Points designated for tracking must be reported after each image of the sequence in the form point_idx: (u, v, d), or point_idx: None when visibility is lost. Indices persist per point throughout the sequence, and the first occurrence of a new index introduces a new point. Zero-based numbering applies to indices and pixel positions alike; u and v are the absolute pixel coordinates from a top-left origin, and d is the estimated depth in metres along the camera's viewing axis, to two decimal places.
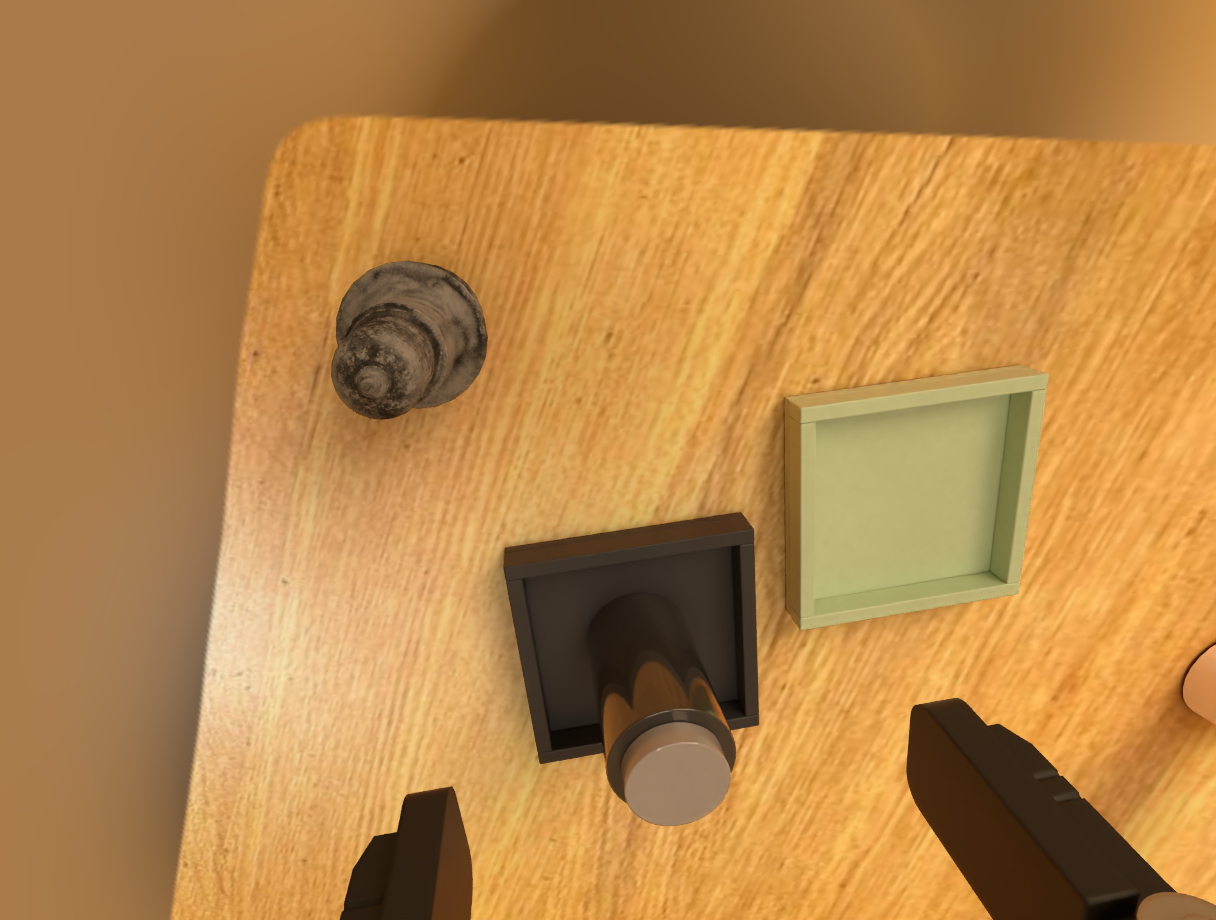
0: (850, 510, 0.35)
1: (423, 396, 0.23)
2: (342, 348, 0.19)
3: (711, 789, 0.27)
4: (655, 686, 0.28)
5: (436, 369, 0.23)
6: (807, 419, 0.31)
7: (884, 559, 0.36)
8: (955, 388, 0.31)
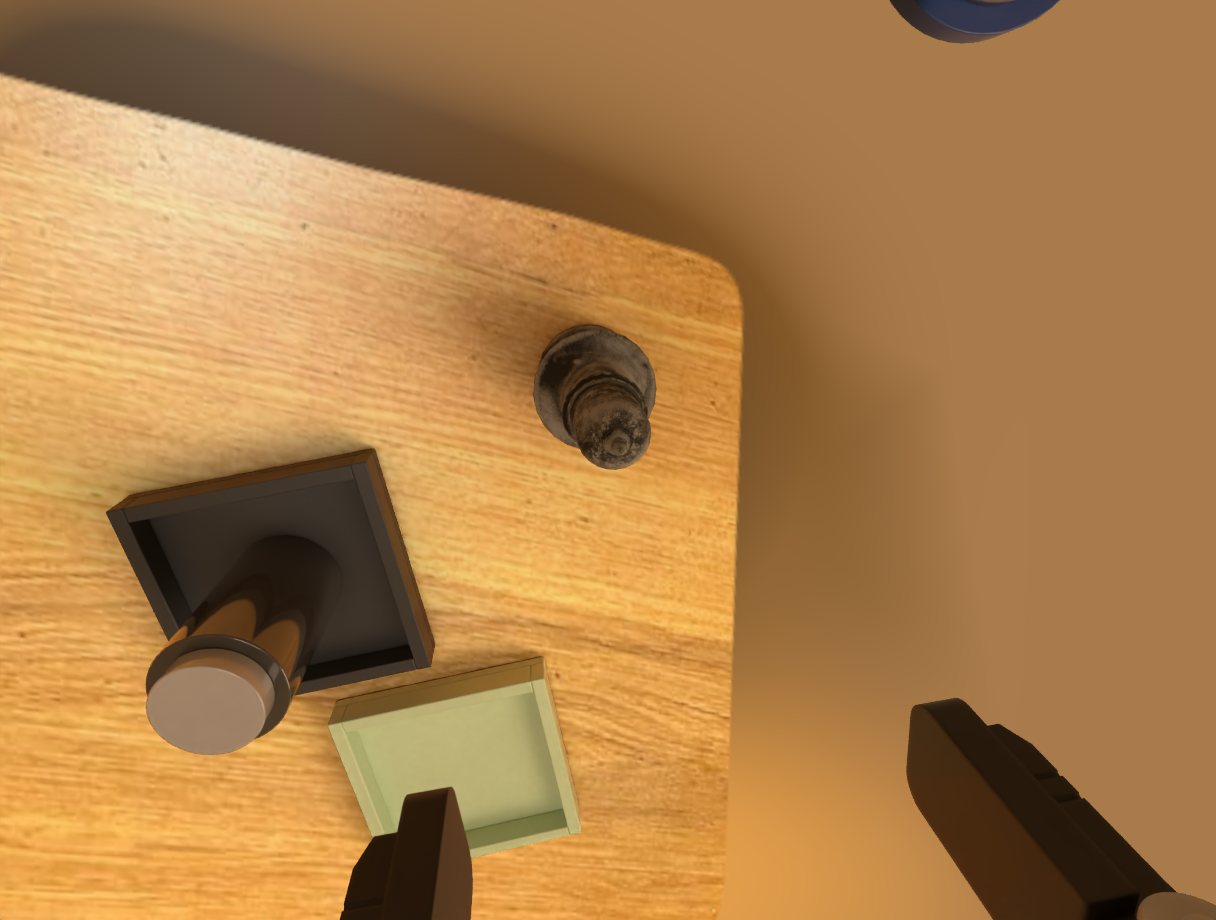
0: (448, 729, 0.40)
1: (573, 436, 0.28)
2: (637, 414, 0.24)
3: (205, 740, 0.27)
4: (296, 652, 0.29)
5: None
6: (534, 685, 0.38)
7: (403, 766, 0.41)
8: (566, 777, 0.41)
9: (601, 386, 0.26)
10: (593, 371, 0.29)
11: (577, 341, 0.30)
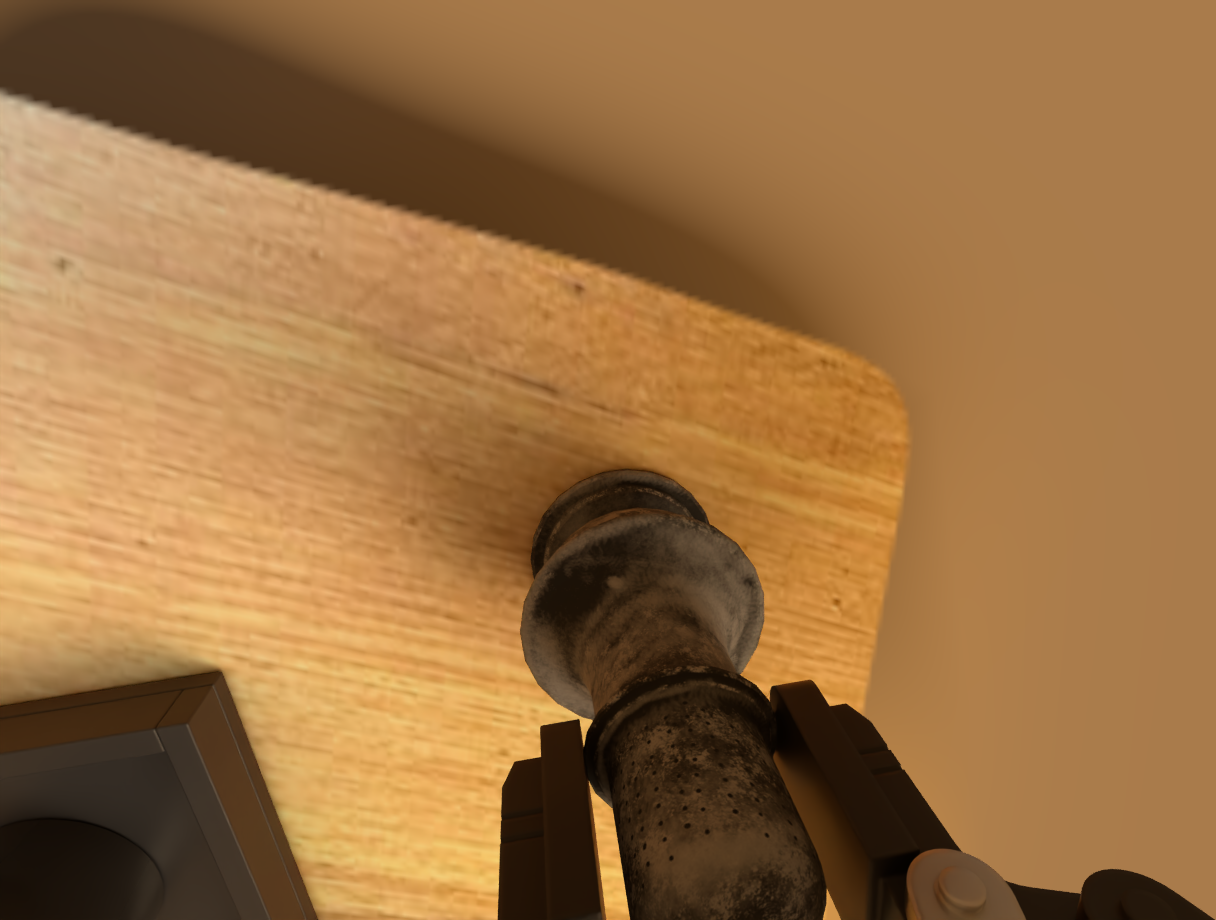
0: None
1: (605, 795, 0.12)
2: (805, 873, 0.09)
3: None
4: None
5: None
6: None
7: None
8: None
9: (684, 714, 0.11)
10: (653, 623, 0.13)
11: (616, 537, 0.14)
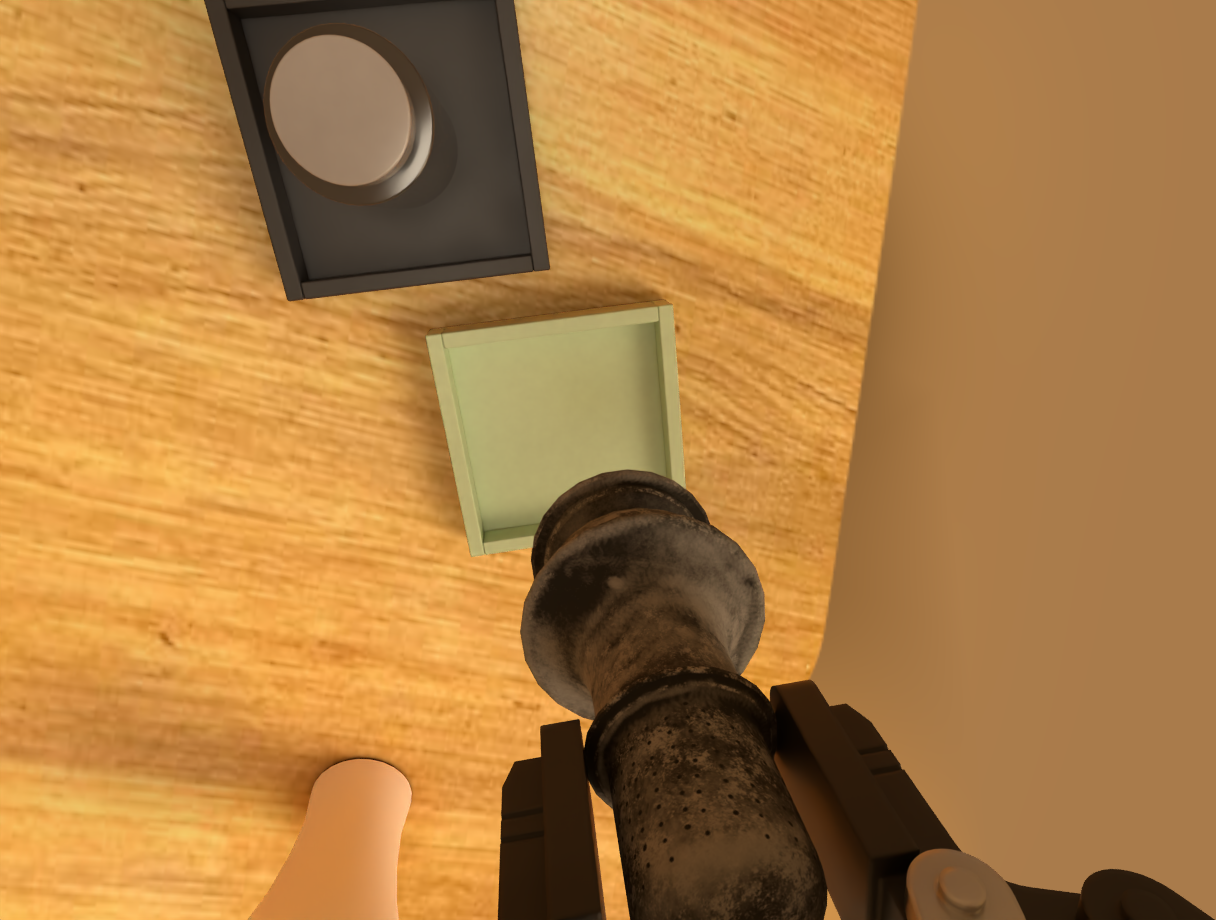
0: (552, 378, 0.35)
1: (606, 795, 0.12)
2: (805, 874, 0.09)
3: (335, 158, 0.22)
4: (436, 109, 0.24)
5: None
6: (661, 311, 0.33)
7: (497, 423, 0.36)
8: (681, 446, 0.36)
9: (684, 714, 0.11)
10: (653, 623, 0.13)
11: (616, 537, 0.14)
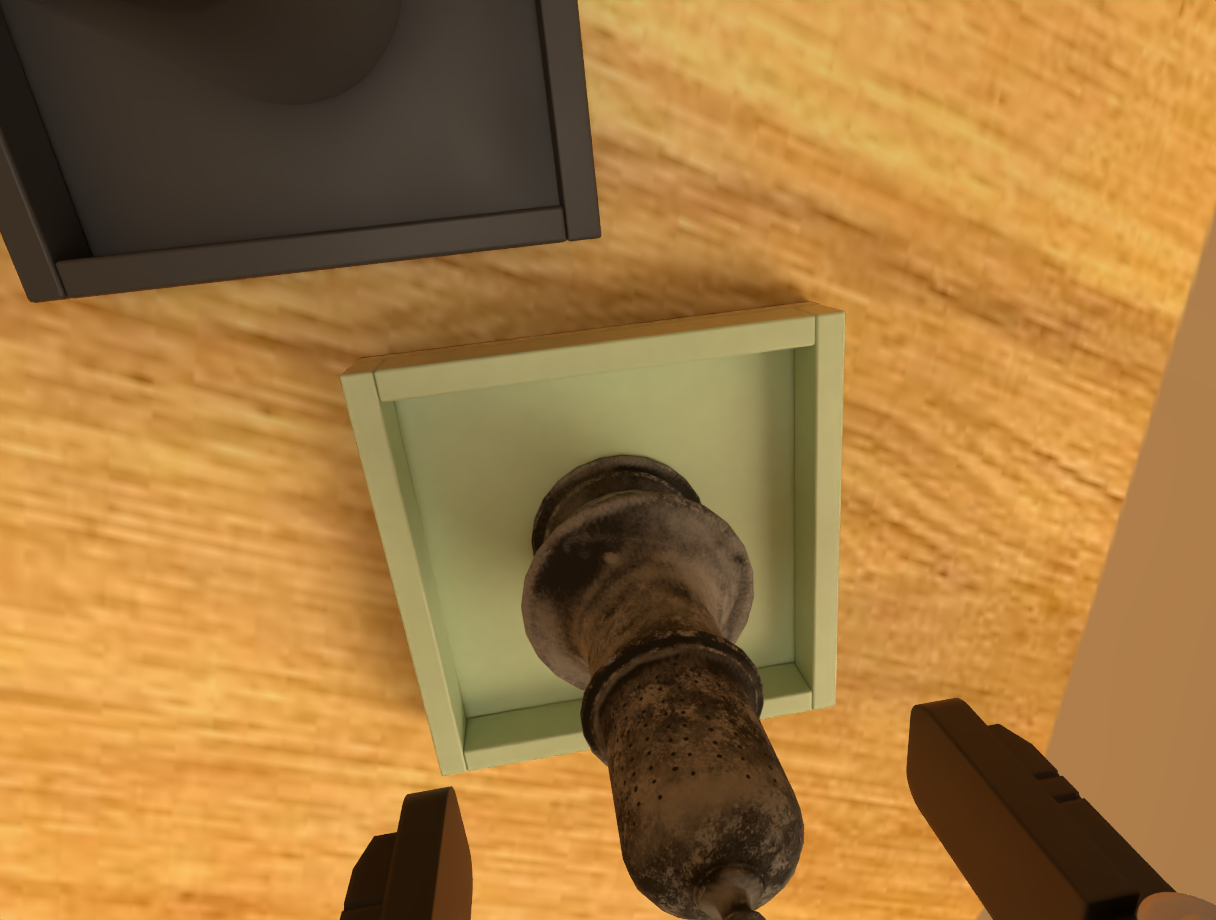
0: (596, 452, 0.19)
1: (601, 753, 0.13)
2: (782, 811, 0.10)
3: None
4: None
5: None
6: (823, 326, 0.17)
7: (491, 534, 0.19)
8: (836, 576, 0.19)
9: (674, 674, 0.12)
10: (646, 594, 0.14)
11: (612, 515, 0.15)
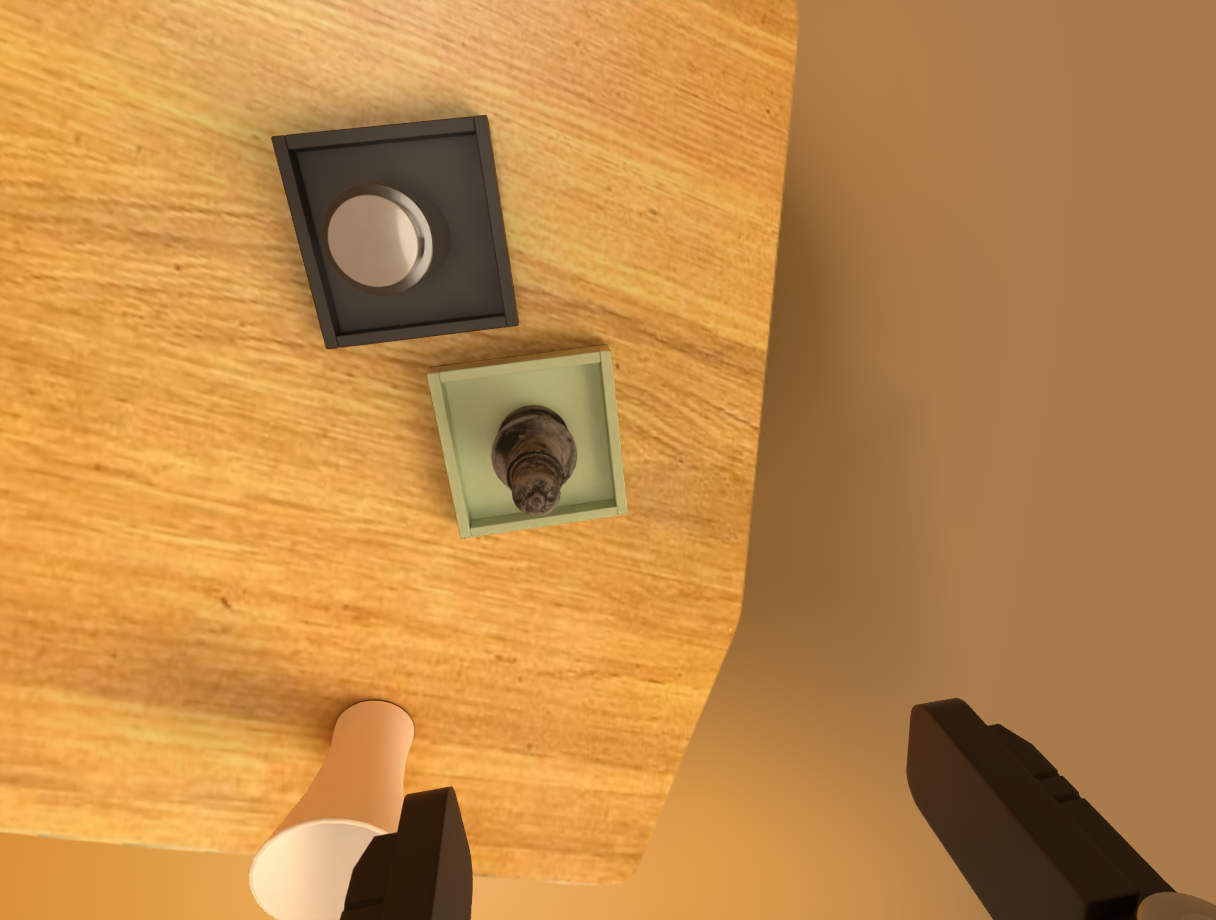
0: (522, 404, 0.47)
1: None
2: (551, 482, 0.38)
3: (369, 270, 0.33)
4: (435, 230, 0.35)
5: None
6: (602, 355, 0.45)
7: (481, 437, 0.47)
8: (620, 454, 0.48)
9: (532, 460, 0.40)
10: (530, 445, 0.42)
11: (522, 422, 0.44)
